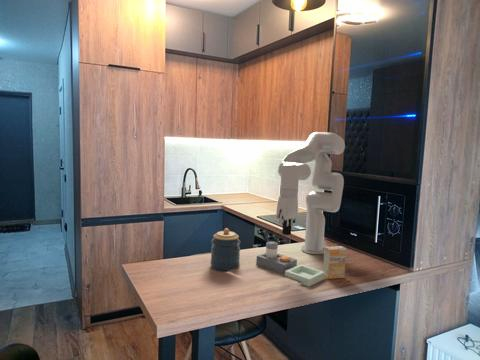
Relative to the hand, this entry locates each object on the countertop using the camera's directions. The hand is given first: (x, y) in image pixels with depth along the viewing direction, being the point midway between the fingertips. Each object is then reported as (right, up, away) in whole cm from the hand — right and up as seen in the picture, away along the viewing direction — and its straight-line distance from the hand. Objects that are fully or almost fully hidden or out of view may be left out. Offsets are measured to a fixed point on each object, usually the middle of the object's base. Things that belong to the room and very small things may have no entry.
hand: (286, 234), depth 157 cm
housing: (-4, -16, +5) cm, 17 cm away
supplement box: (+20, -18, -2) cm, 27 cm away
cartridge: (-6, -15, +7) cm, 17 cm away
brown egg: (-1, -15, +2) cm, 15 cm away
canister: (-27, -15, +4) cm, 31 cm away
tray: (+7, -18, -5) cm, 20 cm away
